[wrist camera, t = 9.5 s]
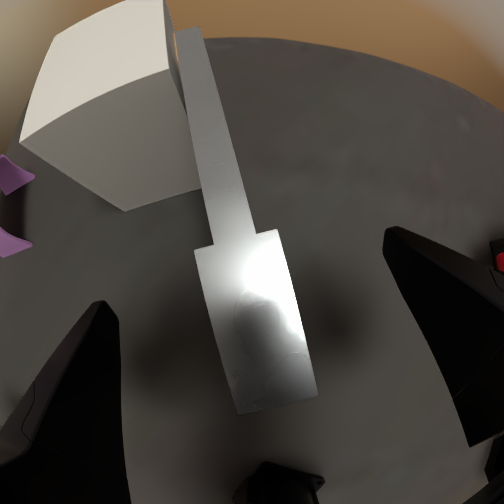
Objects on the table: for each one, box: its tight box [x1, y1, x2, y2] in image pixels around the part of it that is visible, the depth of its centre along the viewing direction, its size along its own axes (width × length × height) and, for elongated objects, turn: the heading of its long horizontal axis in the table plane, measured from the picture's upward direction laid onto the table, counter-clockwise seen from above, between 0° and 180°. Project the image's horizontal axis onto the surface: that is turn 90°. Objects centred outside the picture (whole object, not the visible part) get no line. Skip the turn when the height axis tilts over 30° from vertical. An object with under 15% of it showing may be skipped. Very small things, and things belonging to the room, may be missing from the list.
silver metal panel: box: [174, 26, 318, 415], centre depth 14 cm, size 15×2×12 cm, turn 14°
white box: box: [19, 0, 202, 212], centre depth 15 cm, size 11×8×13 cm
